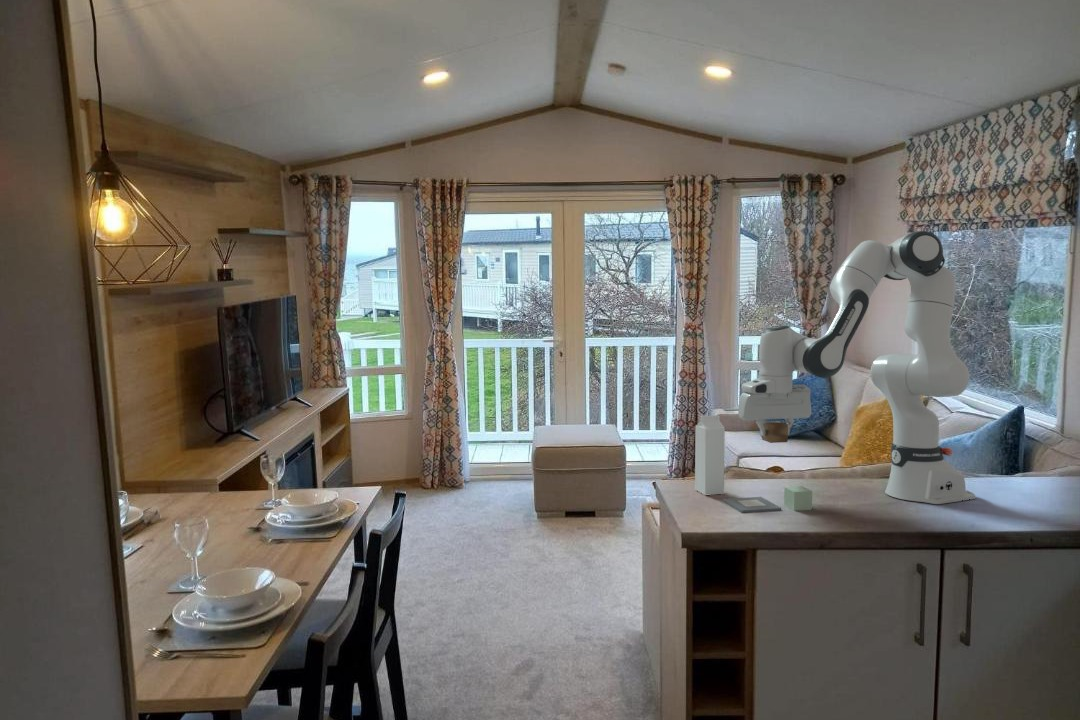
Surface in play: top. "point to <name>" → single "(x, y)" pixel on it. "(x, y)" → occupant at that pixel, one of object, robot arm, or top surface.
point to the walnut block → (776, 432)
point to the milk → (709, 455)
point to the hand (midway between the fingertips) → (774, 435)
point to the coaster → (751, 504)
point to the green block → (798, 498)
